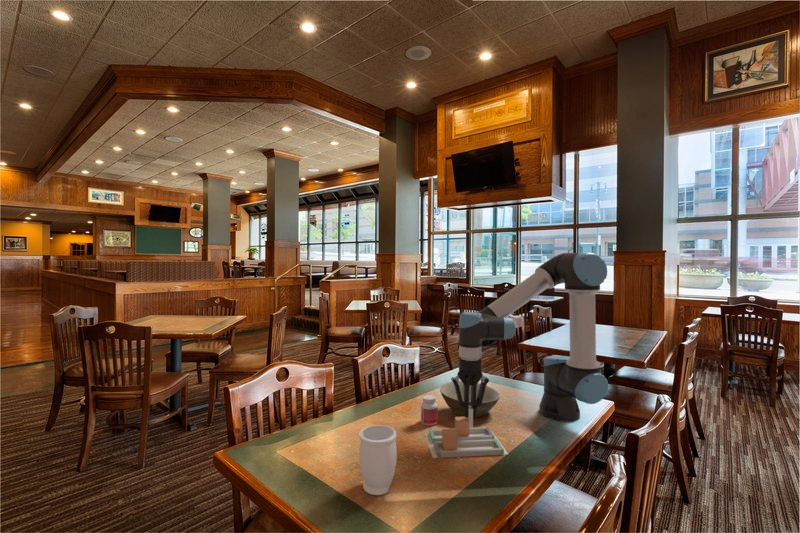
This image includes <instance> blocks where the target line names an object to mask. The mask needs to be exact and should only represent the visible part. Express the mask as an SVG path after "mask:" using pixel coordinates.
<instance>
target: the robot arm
mask: <svg viewBox="0 0 800 533" xmlns="http://www.w3.org/2000/svg"><path fill="white" fill-rule="evenodd" d="M607 275H608V266H607V264H606V262H605V260H604V259H603V258H602V257H601V256H600V255H599V254H597V253H593V252H588V251H586V252H585V251H584V252H583V251H582V252H562V253H559V254H557V255H555V256H553V257H551V258H549V259H548V260H547V261H545V262H544V263H542V264H540V266H539V265H538V267H537V268H536V269H535V270H534V273H533V274H531V275H530V276H528V277H526V279H524V280H523V281H521V282H520V283H519V284H517V285H515V286H514V287H512V289H510V290H508V291H507V292H506V293H504V294H502V295H501V296H500V297H498V298H497V299H496V300H494V301H493V302H492V303H490V304H489V305H487V306H486V307H484V308H483V309H481V310H475V311H465V312H461V313H460V315H459V320H458V323H459V324H458V330H459V331H458V334H459V336H458V338H459V339H458V341H459V342H458V345H459V346H458V347H459V349H458V357H459V358H458V372H457V375H456V376H455V377H451V379H450V380H451V382H453V383H454V386H455V390H456V394H457V399H458V403H459V405H460V406H461V407H464V416H465V418H467V419H468V420H469V428H474V418H477V417H476V409H477V407H478V406H481V405H482V400H483V396H484V392H485V388H486V386H487V385H488V384H489V382H490V379H489V378H488V377H487V376H485V375H483V372H482V359H481V358H482V341H490V340H491V341H493V340H496V341H497V340H503V341H504V340H509V339H512V338H514V337H515V334H516V324H515V321H514V320H513V318H512V317H509V316H511V314H513V313H514V312H516V311H517V310H519V309H520V308H521V307H523V306H524V305H526V304H528V303H529V302H530V301H532V300H533V299H534V298H536V297H537V296H539V295H540V294H542V293H543V292H544V291H545V290H547V289H553V288H555V286H558V285H560V284H564V290H565V291H566V292H567V293H568V295H569V356H567V355H552V356H551V355H549V356H547V357H545V358H544V361H543V395H542V398H541V401H540V403H539V407H538V408H539V409H538V410H539V413H540V414H541V415H542V416H543V417H546V418H548V419H551V420H554V421H561V422H573V421H578V420H579V419H580V418H581V410H580V408H579V404H578V401H579V402H582V403H585V404H587V405H594V404H598V403H599V402H601V401H602V400H603V398H605V397H606V395H607V394H608V390H609V381H608V379H607V378H606V376H605V375H604V374H602V369H601V368H602V367H601V364H600V362H599V361H598V360H597V349H596V348H597V341H596V340H597V339H596V338H597V337H596V336H597V333H596V330H597V328H596V325H597V324H596V320H597V319H596V295H597V294H598V292H600V291H601V284H603V283H604V282H605V280H606V279H607V277H608V276H607ZM459 381H462V383H463V386H464V402H463V400H462V396H461V392H460V387H459V384H458V383H459ZM479 382H480V383H479ZM477 383H479V384H480V388H479V392H478V396H477V400H476V389H477ZM470 385H471V406H469V386H470ZM464 416H463V417H464Z"/></svg>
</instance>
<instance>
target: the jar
mask: <svg viewBox="0 0 800 533" xmlns="http://www.w3.org/2000/svg"><path fill="white" fill-rule="evenodd" d="M358 433H359V435H358V436H359V440H360V442H359V449H358V450H359V451H358V457H359V465H360V473H361V478H362V479H363V485H362V489H363V490H364V492H366V494H368V495H369V494H370V495H372V496H383V495H386V494H388V493H390V491H391V487H390V486H391V485H392V481H393V479H394V477H395V472H396V465H397V458H398V451H397V450H398V448H397V447H398V446H397V443H396V439H397V436H398V435H397V430H396V429H395V428H393V427H392V426H389V425H386V424H385V425H384V424H374V425H368V426H366V427H364V428H362V429H361V430H360V431H359V432H358Z"/></svg>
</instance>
